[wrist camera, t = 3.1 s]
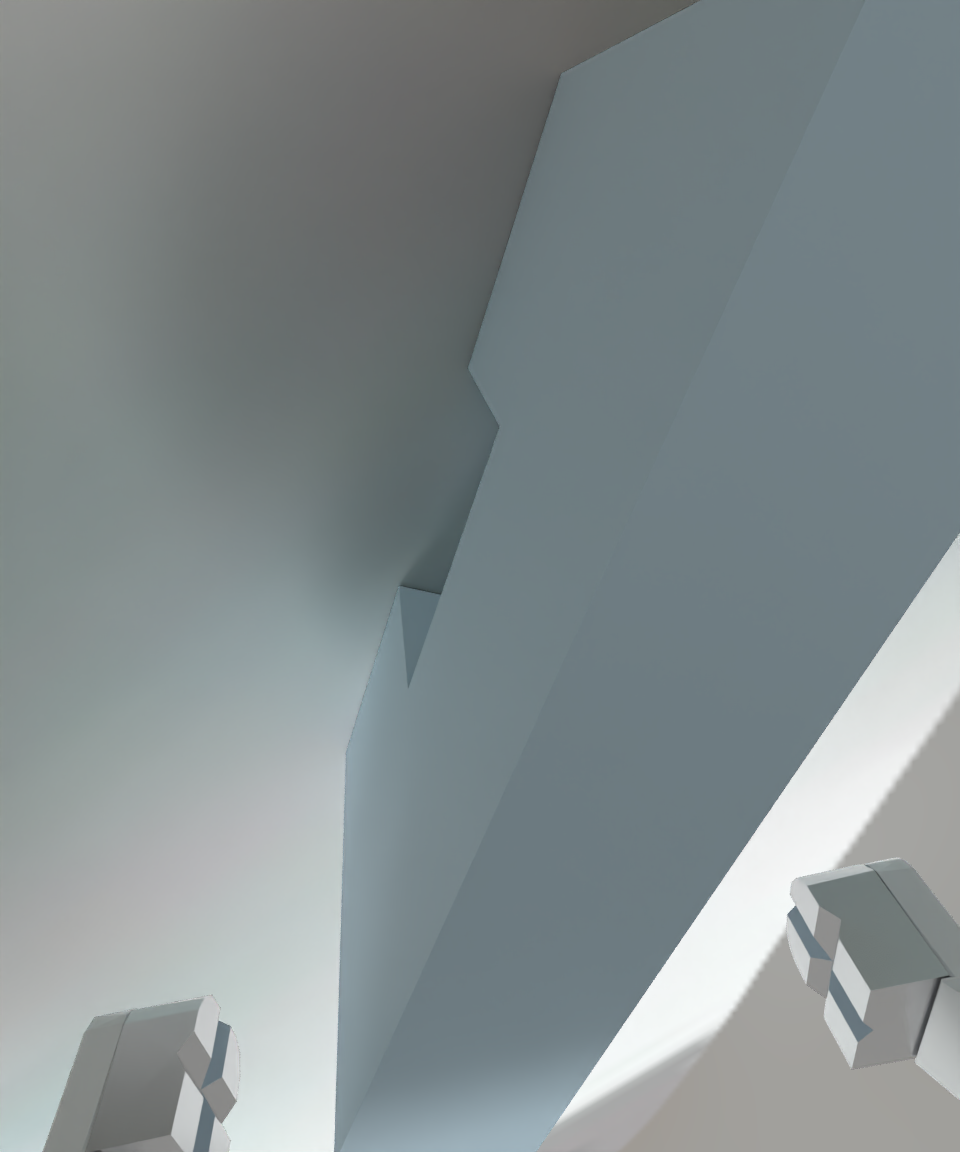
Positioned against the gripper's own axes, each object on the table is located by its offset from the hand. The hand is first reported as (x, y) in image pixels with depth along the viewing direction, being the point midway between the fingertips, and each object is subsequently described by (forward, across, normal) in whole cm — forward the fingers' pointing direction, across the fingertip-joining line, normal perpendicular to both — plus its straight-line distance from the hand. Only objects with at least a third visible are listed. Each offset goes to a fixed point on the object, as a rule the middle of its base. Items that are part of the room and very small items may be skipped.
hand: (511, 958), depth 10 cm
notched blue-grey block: (+5, -1, -4) cm, 7 cm away
